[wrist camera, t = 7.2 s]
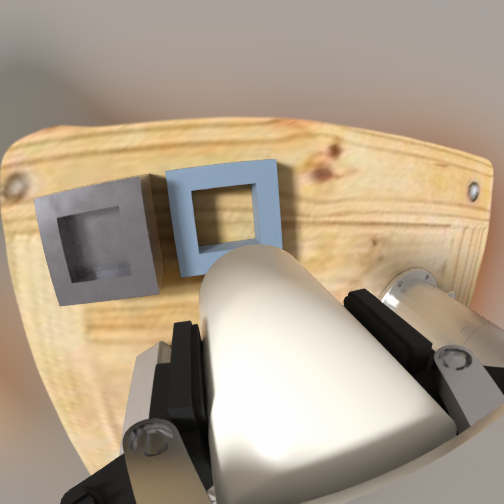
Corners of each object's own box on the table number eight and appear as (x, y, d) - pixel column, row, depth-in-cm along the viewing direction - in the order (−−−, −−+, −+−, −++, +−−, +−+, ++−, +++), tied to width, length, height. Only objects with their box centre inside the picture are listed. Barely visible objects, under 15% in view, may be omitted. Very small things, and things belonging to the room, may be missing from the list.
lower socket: (268, 159, 33) (276, 159, 30) (276, 254, 36) (283, 262, 33) (167, 170, 31) (165, 171, 28) (181, 268, 34) (181, 277, 31)
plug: (306, 236, 13) (488, 372, 4) (309, 334, 15) (418, 499, 5) (190, 253, 12) (187, 473, 3) (209, 353, 14) (239, 556, 4)
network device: (127, 350, 36) (100, 478, 17) (178, 317, 36) (176, 450, 17) (236, 443, 45) (261, 541, 26) (280, 420, 45) (319, 519, 26)
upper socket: (149, 173, 31) (139, 176, 24) (164, 270, 34) (159, 294, 28) (59, 191, 29) (33, 198, 23) (78, 282, 32) (59, 306, 26)
